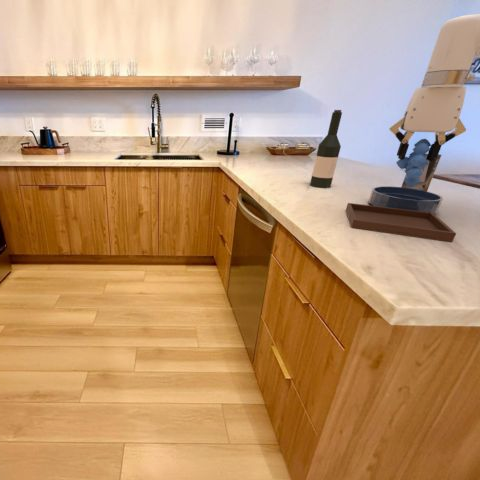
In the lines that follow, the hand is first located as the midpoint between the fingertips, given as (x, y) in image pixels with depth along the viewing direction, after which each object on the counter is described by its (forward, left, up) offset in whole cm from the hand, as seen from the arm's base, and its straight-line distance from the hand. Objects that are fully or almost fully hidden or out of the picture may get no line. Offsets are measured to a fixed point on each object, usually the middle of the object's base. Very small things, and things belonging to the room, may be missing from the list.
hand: (415, 158), depth 75 cm
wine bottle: (+18, -42, -18) cm, 49 cm away
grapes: (0, 0, -7) cm, 7 cm away
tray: (0, 0, -18) cm, 18 cm away
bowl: (-6, -20, -18) cm, 28 cm away
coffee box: (-11, -33, -18) cm, 39 cm away
